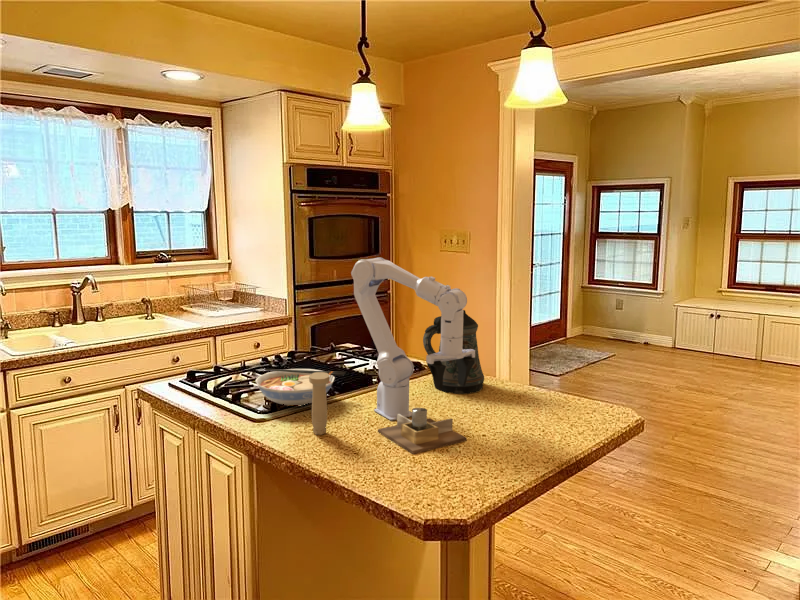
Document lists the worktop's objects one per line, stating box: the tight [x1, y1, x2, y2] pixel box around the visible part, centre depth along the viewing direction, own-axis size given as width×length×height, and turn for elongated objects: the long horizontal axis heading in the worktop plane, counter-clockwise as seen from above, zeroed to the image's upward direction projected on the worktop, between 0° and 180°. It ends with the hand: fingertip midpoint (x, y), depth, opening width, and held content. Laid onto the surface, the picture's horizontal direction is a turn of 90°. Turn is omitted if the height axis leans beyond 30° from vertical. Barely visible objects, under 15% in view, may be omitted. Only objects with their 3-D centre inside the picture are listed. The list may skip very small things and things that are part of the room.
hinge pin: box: [411, 407, 428, 431], centre depth 146 cm, size 4×4×7 cm
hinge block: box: [377, 414, 468, 455], centre depth 149 cm, size 16×16×4 cm
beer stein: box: [422, 309, 485, 395], centre depth 190 cm, size 16×19×25 cm
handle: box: [309, 372, 329, 436], centre depth 150 cm, size 5×6×15 cm
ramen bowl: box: [255, 368, 346, 406], centre depth 173 cm, size 25×23×8 cm
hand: (450, 386), depth 157 cm, fingers open, 7 cm apart
